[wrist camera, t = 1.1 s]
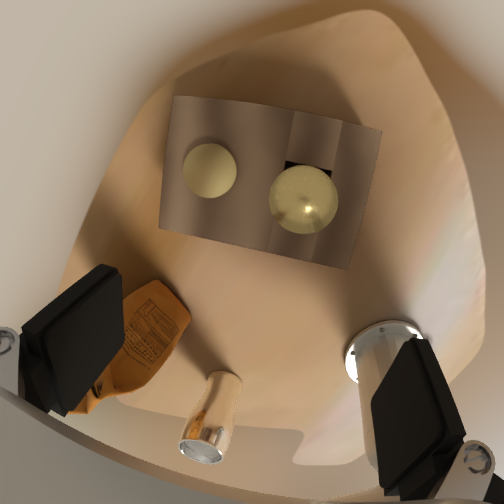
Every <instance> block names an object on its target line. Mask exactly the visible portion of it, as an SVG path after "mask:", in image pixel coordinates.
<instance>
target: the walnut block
mask: <svg viewBox="0 0 504 504" xmlns="http://www.w3.org/2000/svg"><path fill="white" fill-rule="evenodd" d="M381 135H382V131H379V130H376V129H372V128H369V127H365V126H361V125H358V124H354V123H350V122H346V121H342V120H338V119H334V118H330V117H325V116H321V115H316V114H312V113H307V112H302V111H297V110H292V109H286V108H281V107H275V106H269V105H263V104H256V103H249V102H242V101H234V100H226V99H217V98H207V97H195V96H181V95H174V97H173V103H172V109H171V116H170V123H169V130H168V137H167V145H166V153H165V161H164V170H163V179H162V190H161V201H160V213H159V227H158V228H160V229H164V230H169V231H174V232H178V233H183V234H187V235H192V236H196V237H201V238H205V239H210V240H214V241H219V242H223V243H228V244H232V245H237V246H241V247H245V248H250V249H254V250H259V251H263V252H268V253H272V254H277V255H281V256H286V257H290V258H295V259H299V260H304V261H308V262H312V263H317V264H321V265H326V266H330V267H335V268H339V269H344V270H347V269H348V265H349V262H350V259H351V255H352V252H353V249H354V245H355V242H356V238H357V235H358V231H359V228H360V224H361V220H362V217H363V213H364V209H365V205H366V201H367V197H368V193H369V189H370V185H371V181H372V177H373V173H374V168H375V164H376V159H377V155H378V150H379V145H380V140H381ZM297 165H308V166H313V167H316V168H318V169H320V170H322V171H323V172H324V173H326V174H327V175H328V176H329V177H330V179H331V180H332V182H333V183H334V185H335V187H336V190H337V194H338V207H337V211H336V214H335V216H334V218H333V219H332V221H331V222H330V223H329V224H328V225H327V226H326V227H324V228H323V229H321V230H319V231H317V232H314V233H310V234H298V233H294V232H291V231H289V230H287V229H285V228H284V227H282V226H281V225H280V224H279V223H278V222H277V221H276V220H275V218H274V216H273V215H272V212H271V210H270V206H269V193H270V189H271V186H272V184H273V183H274V181H275V180H276V178H277V177H278V176H279V175H280V174H281V173H282V172H283V171H285V170H286V169H288V168H291V167H293V166H297Z"/></svg>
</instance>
